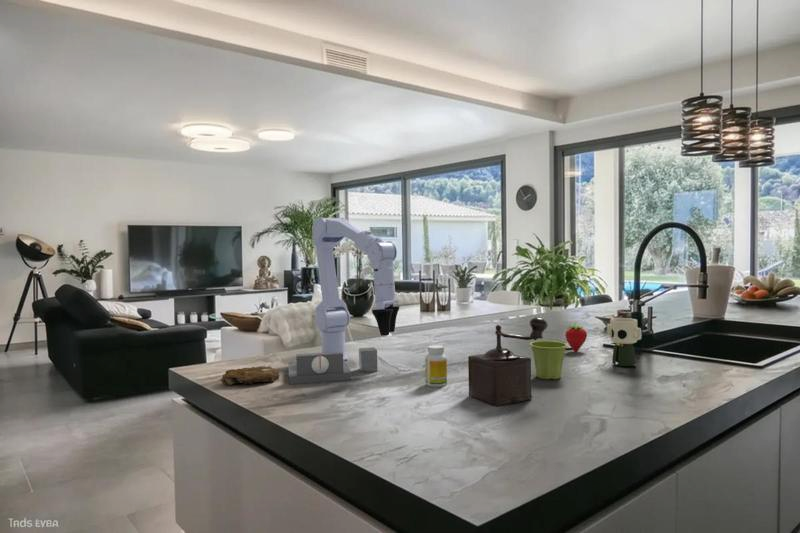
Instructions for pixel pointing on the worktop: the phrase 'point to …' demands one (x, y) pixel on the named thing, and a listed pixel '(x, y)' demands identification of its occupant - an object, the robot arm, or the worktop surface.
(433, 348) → the supplement bottle
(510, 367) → the manual coffee grinder
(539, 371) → the plant pot
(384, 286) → the robot arm
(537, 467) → the worktop surface
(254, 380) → the decorative rock
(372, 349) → the block
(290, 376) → the scale
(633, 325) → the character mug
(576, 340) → the strawberry
